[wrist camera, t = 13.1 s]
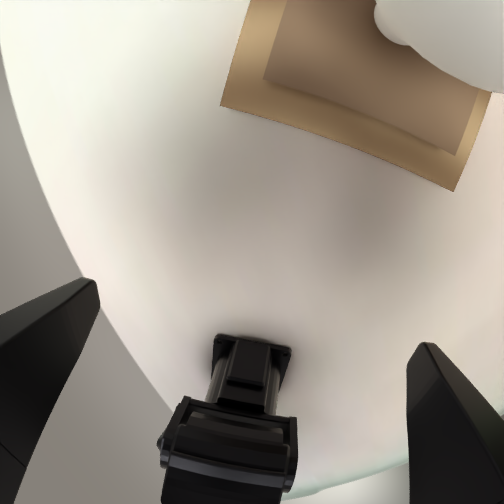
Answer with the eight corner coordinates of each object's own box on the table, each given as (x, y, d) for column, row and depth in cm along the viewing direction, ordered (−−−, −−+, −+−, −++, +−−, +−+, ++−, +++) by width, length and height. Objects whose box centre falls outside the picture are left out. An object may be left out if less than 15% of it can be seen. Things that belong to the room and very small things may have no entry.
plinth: (441, 181, 18) (467, 205, 14) (228, 103, 17) (209, 108, 14) (497, 1, 10) (530, -7, 7) (290, -88, 10) (286, -119, 7)
